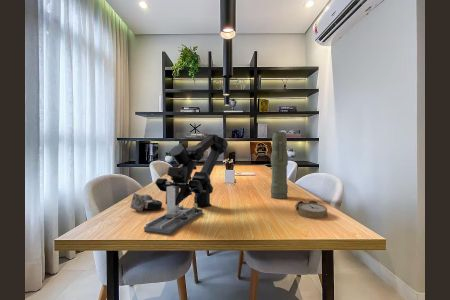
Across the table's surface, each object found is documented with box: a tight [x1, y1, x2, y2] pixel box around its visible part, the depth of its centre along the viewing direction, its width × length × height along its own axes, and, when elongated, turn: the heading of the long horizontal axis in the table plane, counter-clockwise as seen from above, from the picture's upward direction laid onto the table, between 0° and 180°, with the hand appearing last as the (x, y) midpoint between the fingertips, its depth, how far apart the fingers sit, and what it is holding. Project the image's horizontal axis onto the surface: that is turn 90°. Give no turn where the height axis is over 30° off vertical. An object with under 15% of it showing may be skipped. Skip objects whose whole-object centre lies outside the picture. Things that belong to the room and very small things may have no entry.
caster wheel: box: [129, 192, 163, 213], centre depth 109 cm, size 7×11×10 cm
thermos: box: [270, 131, 289, 200], centre depth 131 cm, size 9×12×35 cm
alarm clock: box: [295, 200, 329, 220], centre depth 102 cm, size 11×5×15 cm
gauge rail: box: [143, 203, 204, 236], centre depth 92 cm, size 26×10×4 cm, turn 161°
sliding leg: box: [164, 186, 186, 218], centre depth 92 cm, size 4×7×11 cm, turn 71°
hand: (171, 204), depth 91 cm, fingers closed on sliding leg, 4 cm apart
